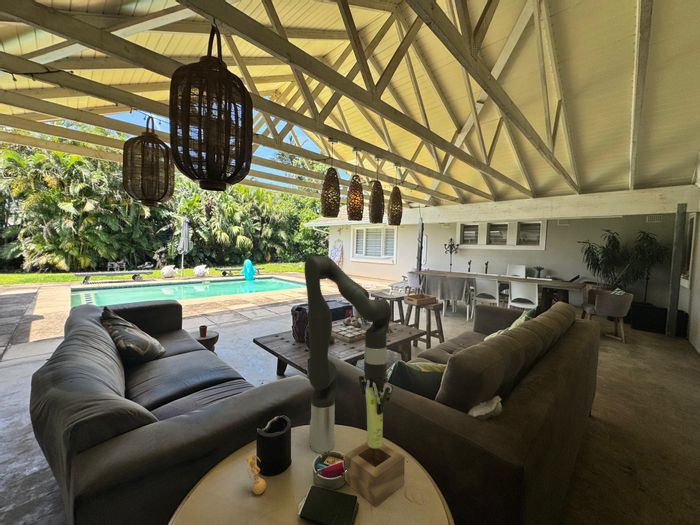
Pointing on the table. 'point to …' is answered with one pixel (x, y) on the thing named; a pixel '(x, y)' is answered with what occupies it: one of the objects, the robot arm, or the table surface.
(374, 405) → the tube
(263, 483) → the figurine
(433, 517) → the table surface
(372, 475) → the box
